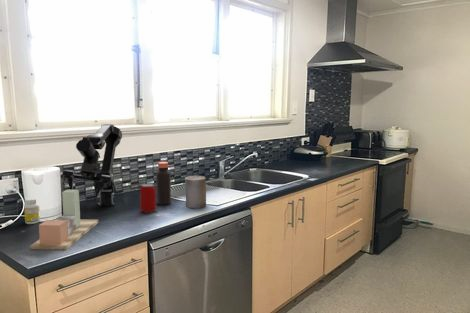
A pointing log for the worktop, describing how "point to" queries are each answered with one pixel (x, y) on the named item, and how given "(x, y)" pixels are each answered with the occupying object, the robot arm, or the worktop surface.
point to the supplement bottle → (31, 211)
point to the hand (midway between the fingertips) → (83, 197)
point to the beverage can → (147, 198)
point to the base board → (71, 231)
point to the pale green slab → (71, 204)
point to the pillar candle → (195, 191)
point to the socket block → (53, 232)
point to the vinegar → (163, 184)
